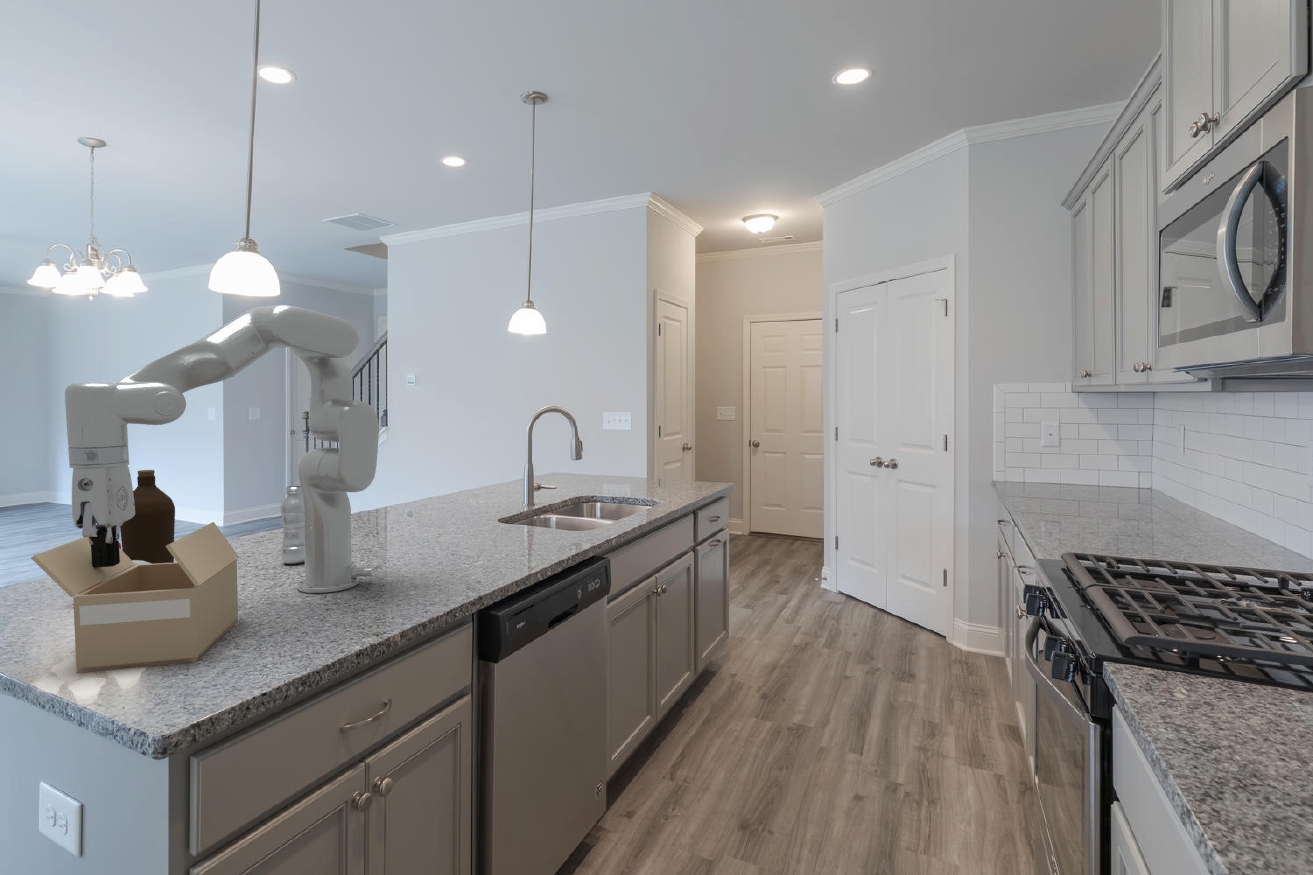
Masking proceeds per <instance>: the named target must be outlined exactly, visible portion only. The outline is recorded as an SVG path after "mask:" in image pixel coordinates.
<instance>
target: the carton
mask: <svg viewBox="0 0 1313 875" xmlns="http://www.w3.org/2000/svg"><path fill="white" fill-rule="evenodd" d="M237 559H238V558H237ZM237 559H236V560H234V561H233V562H231V563H230V564H229V565H227V566H226V567H224V568H223V569H222V570H220V571H219V572H217V573H216V574H215V575H213V576H212V577H210V578H209V579H208V580H206V581H205V582H203V583H202V584H201V585H199V586H197V587H195V585H194V584H193V583H192V581H191V580H190V578H189V577H188V576H187V574H186V573H185V572H184V570H183V569H182V568H181V566H180V565H179V564H178V562H177V561H176V562H174V563H157V564H138V565H135V566H133V567H131V568H129V569H127V570H125V571H123V572H121V573H119V574H117V575H115V576H113V577H111V578H109V579H107V580H105V581H103V582H101V583H100V584H98V585H96V586H94V587H92V588H90V589H88V590H86V591H84V592H82V593H80V594H77V595H75V596H73V597H72V598H73V600H72V601H73V619H74V620H73V621H74V647H75V668H76V671H75V672H76V673H75V674H85V673H93V672H104V671H105V672H106V671H117V670H127V669H128V670H129V669H138V668H147V667H149V668H150V667H160V666H171V665H179V664H180V665H181V664H192V663H198V662H199V661H200V660H201V659H202V658H203V657H204V656H205V655H206V654H207V653H208V652H209V651H210V650H211V649H212V648H213V647H214V646H215V645H216V644H217V643H218V642H219V641H220V640H221V639H222V638H224V636H225V635H226V634H228V632H229V631H230V630H231V629H232V628H233V627H234V626H235V625H236V624H237V623H238V622H239V608H238V607H239V603H238V602H239V601H238V600H239V599H238V563H237V561H238V560H237Z"/></svg>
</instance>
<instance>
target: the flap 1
mask: <svg viewBox="0 0 1313 875" xmlns="http://www.w3.org/2000/svg"><path fill="white" fill-rule="evenodd" d="M119 554H120V563H119V564H117V565H115V566H111V567H96V568H94V567H93V566H92V556H91V545H90V543H89V538H88V537H83V536H82V537H81V538H79V539H76V540H73V541H70V542H66V543H64V544H62V545H59V546H57V547H54V548H52V549H49V550H45V551H42V552H40V553H38V554H35V555H33V556H32V557H30V559H31V560H32V561H33V562H34V563H35V564H36V565H38V568H40V569H42V571H43V572H44V573H46V575H47V576H49V578H50V579H51V580H52V581H53V582H55V584H57V586H59V587H60V588H61V590H63V592H65V593H66V594H67V595H68V596H69V597H70V598H73V597H74V596H76V595H78V594H79V593H81V592H83V591H85V590H87V589H88V588H90V587H92V586H94V585H96V584H98V583H100V582H102V581H104V580H106V579H108V578H110V577H112V576H114V575H116V574H118V573H120V572H122V571H124V570H126V569H128V568H130V567H132V566H133V565H135V563H134V562H133V561H132V560H131V559H130V558H129V557H128V556H127V555H126V554H125V553H124V552H123V551H122V548H121V549H120V548H119Z"/></svg>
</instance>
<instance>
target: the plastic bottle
mask: <svg viewBox="0 0 1313 875" xmlns="http://www.w3.org/2000/svg"><path fill="white" fill-rule="evenodd" d="M285 489H286V490H285V494H286V497H285V499H284V500H283V501H282V502H281V505H280V514H281V519H282V520H281V521H282V528H283V529H282V531H283V533H282V534H283V535H282V546H281V548H280V549H281V550H280V558H281V561H282V562H283V563H285V564H288V565H289V564H290V565H291V564H293V565H297V564H301V563H305V550H304V504H303V495H302V489H301V485H288V486H286V487H285Z"/></svg>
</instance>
